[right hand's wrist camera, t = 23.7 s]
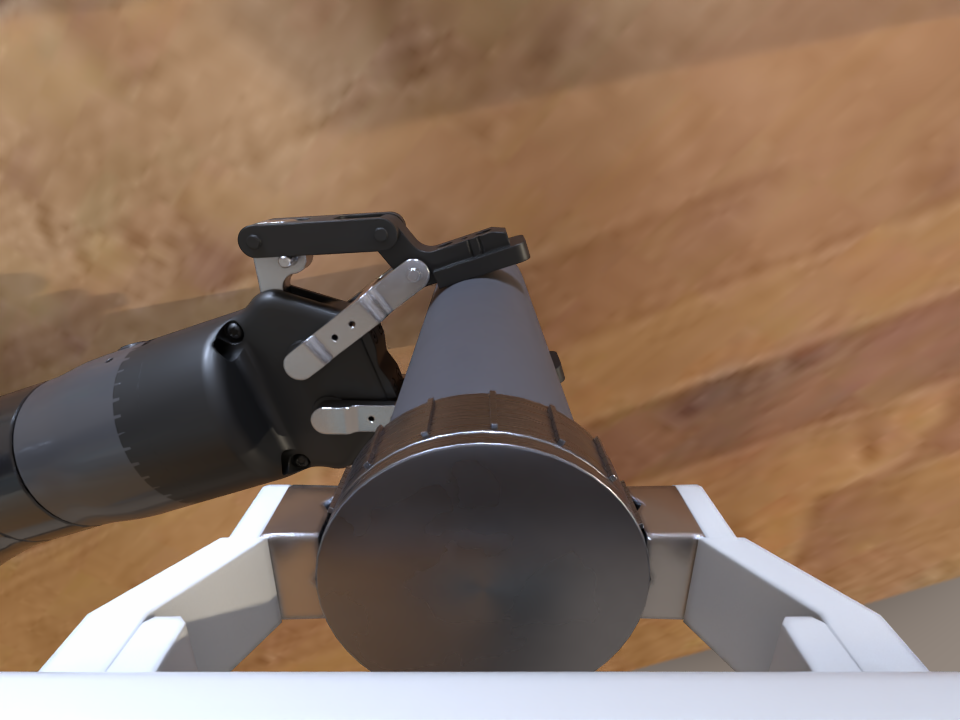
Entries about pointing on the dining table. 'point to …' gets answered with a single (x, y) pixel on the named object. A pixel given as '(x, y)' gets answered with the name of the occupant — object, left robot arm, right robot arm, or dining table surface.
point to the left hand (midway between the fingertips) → (542, 307)
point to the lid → (482, 543)
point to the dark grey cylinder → (482, 345)
